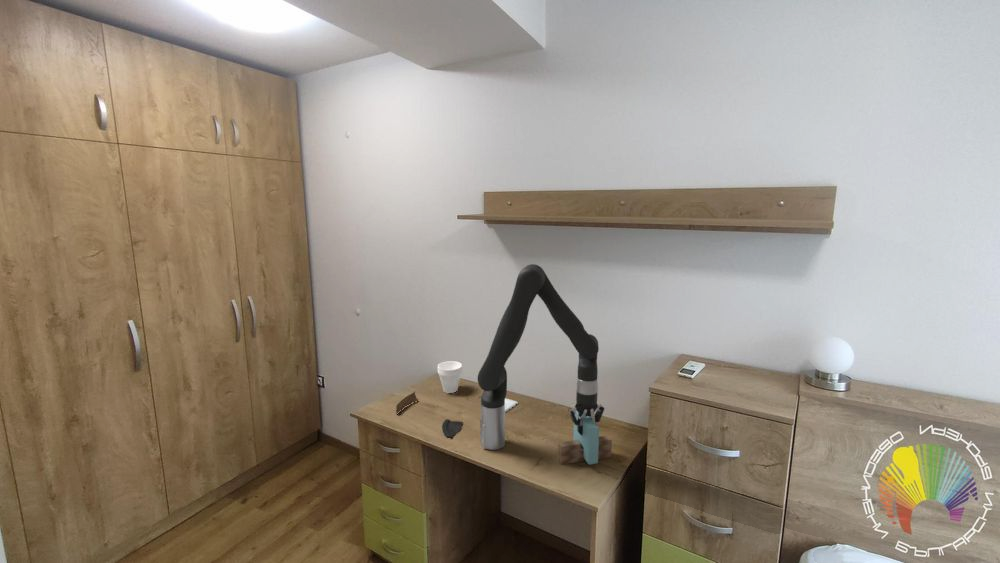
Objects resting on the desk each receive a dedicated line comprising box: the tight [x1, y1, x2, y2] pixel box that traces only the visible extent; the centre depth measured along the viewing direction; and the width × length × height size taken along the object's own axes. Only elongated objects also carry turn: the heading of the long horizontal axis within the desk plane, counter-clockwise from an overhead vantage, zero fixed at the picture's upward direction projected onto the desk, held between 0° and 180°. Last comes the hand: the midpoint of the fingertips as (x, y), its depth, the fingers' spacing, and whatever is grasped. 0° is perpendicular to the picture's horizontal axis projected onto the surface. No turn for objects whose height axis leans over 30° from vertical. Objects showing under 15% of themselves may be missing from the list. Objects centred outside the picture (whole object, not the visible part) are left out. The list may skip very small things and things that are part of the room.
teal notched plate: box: [572, 411, 600, 465], centre depth 164 cm, size 14×4×14 cm, turn 14°
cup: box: [437, 360, 463, 394], centre depth 223 cm, size 12×12×14 cm
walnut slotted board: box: [557, 435, 613, 465], centre depth 165 cm, size 20×3×7 cm, turn 104°
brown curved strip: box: [395, 391, 419, 415], centre depth 206 cm, size 15×2×5 cm, turn 156°
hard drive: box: [505, 397, 519, 413], centre depth 207 cm, size 2×8×12 cm
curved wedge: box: [441, 418, 464, 439], centre depth 187 cm, size 8×14×2 cm, turn 172°
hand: (585, 432), depth 164 cm, fingers closed on teal notched plate, 3 cm apart
